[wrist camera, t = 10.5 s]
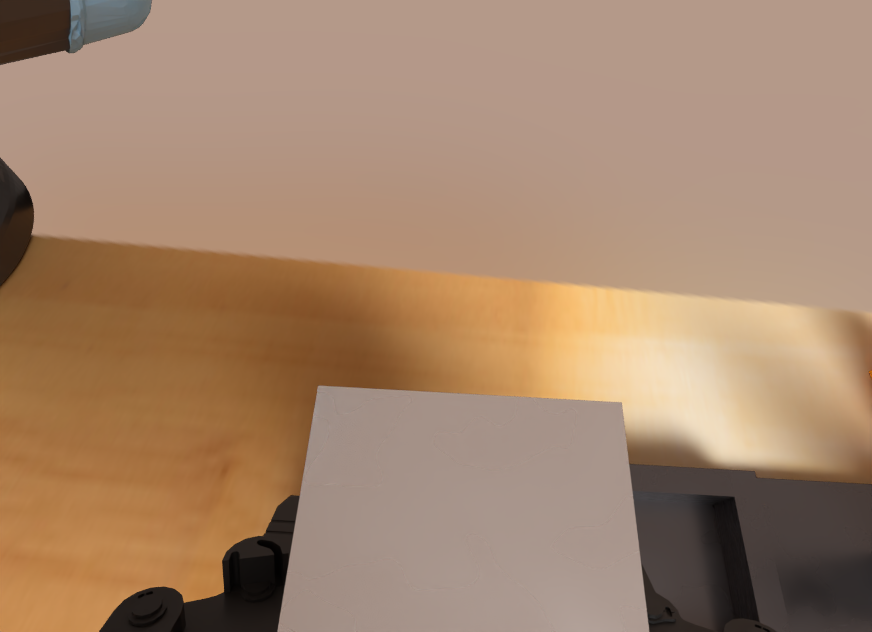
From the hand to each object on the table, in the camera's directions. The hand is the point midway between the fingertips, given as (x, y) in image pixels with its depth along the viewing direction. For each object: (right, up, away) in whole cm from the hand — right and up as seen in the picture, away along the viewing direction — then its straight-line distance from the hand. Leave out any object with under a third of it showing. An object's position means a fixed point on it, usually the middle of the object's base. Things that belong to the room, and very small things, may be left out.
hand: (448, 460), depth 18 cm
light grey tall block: (0, -6, +2) cm, 6 cm away
